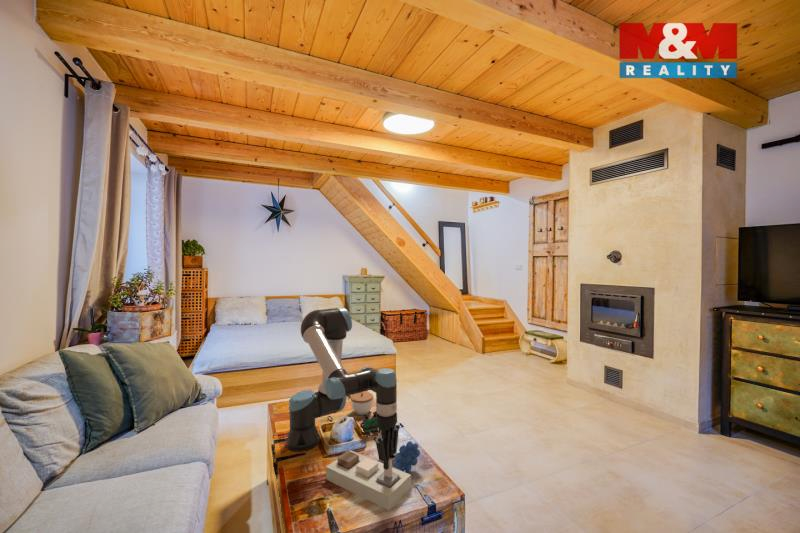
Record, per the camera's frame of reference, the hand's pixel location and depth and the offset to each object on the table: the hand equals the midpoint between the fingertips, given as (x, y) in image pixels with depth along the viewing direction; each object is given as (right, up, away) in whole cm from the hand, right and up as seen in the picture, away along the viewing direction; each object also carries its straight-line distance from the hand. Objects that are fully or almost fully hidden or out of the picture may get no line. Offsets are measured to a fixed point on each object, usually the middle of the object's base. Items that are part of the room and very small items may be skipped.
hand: (388, 475), depth 127 cm
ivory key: (-8, -3, +6) cm, 11 cm away
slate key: (0, -4, 0) cm, 4 cm away
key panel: (-8, -7, +6) cm, 12 cm away
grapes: (+7, -6, +14) cm, 17 cm away
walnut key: (-16, -3, +12) cm, 20 cm away
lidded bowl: (-17, -6, +69) cm, 71 cm away
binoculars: (-11, -6, +46) cm, 47 cm away
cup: (-1, -6, +24) cm, 25 cm away
